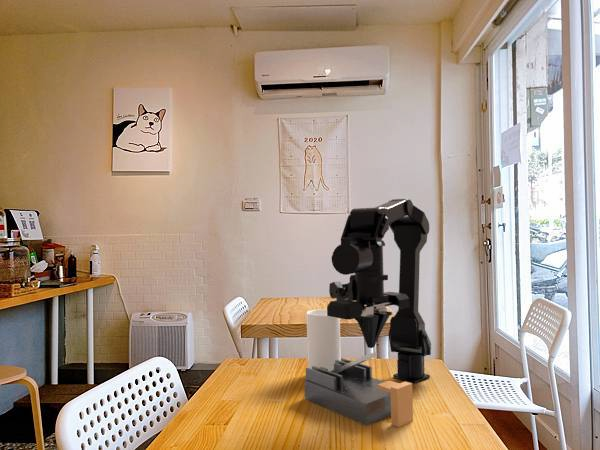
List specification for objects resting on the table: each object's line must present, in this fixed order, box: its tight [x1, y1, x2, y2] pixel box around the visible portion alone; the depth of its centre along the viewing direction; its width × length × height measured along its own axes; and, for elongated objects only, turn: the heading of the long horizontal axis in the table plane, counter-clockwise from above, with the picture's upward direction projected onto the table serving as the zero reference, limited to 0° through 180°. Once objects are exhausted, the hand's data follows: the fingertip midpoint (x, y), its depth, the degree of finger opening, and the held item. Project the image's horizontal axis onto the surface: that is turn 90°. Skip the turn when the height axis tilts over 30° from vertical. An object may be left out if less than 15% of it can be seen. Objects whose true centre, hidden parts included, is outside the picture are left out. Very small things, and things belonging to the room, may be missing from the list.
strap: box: [330, 352, 378, 374], centre depth 95 cm, size 14×3×1 cm, turn 39°
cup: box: [306, 308, 342, 371], centre depth 112 cm, size 8×8×16 cm
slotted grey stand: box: [303, 357, 391, 427], centre depth 94 cm, size 12×18×6 cm, turn 39°
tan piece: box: [377, 380, 414, 428], centre depth 86 cm, size 4×5×7 cm
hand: (370, 347), depth 91 cm, fingers closed
